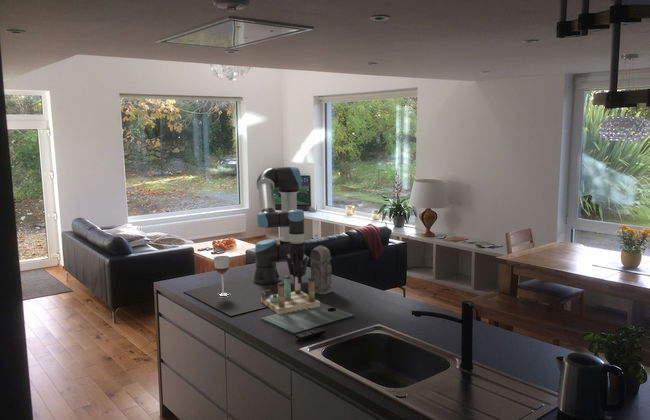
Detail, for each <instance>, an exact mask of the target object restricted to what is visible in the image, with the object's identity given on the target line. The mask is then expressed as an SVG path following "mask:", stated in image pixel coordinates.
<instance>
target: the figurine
mask: <svg viewBox="0 0 650 420" xmlns="http://www.w3.org/2000/svg"><path fill="white" fill-rule="evenodd" d="M310 251H311V252H310V256H309V257H310V258H309V260H310V261H311V262H310V278H315V294H318V295H326V294H329V293H332V292H333V288H332V287H331V284H332V282H333V280H332V275H333V274H332V272H333V271H332V270H333V269H332V264H331V260H332V259H333V258H332V256H331V252H330V249H329V248H328V247H326V246H323V245H321V244H320V245H318V246H316V247H314V248H313V249H311V250H310Z"/></svg>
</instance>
